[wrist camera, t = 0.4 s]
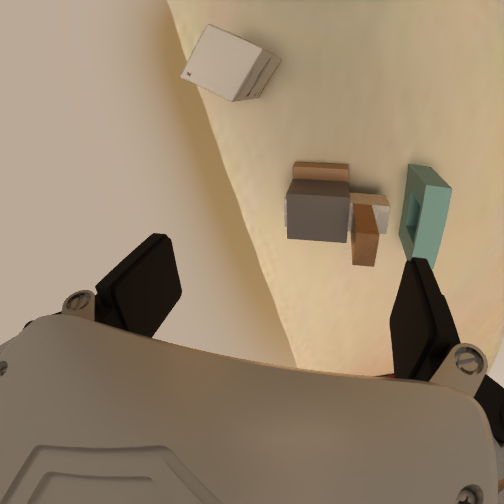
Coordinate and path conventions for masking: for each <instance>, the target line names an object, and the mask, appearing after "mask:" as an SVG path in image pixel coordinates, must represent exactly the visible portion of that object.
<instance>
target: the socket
mask: <svg viewBox="0 0 504 504" xmlns="http://www.w3.org/2000/svg"><path fill="white" fill-rule="evenodd" d="M451 193H452V188H451V187H450V186H449V185H448V184H447V183H446V182H445V181H444V180H443V179H442V178H441V177H440V176H439V175H438V174H437V173H436V172H435V171H434V170H433V169H432V168H431V167H425V166H418V165H411V164H408V173H407V182H406V190H405V198H404V205H403V211H402V218H401V224H400V229H399V237H400V240H401V243H402V246H403V249H404V252H405V255H406V258H407V260H409V261H411V258H412V257H418V258H426V259H427V260H428V262H429V265H430V267H431V269H433V268H434V264H435V261H436V258H437V254H438V250H439V247H440V243H441V239H442V235H443V231H444V227H445V222H446V218H447V213H448V208H449V203H450V198H451Z"/></svg>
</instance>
